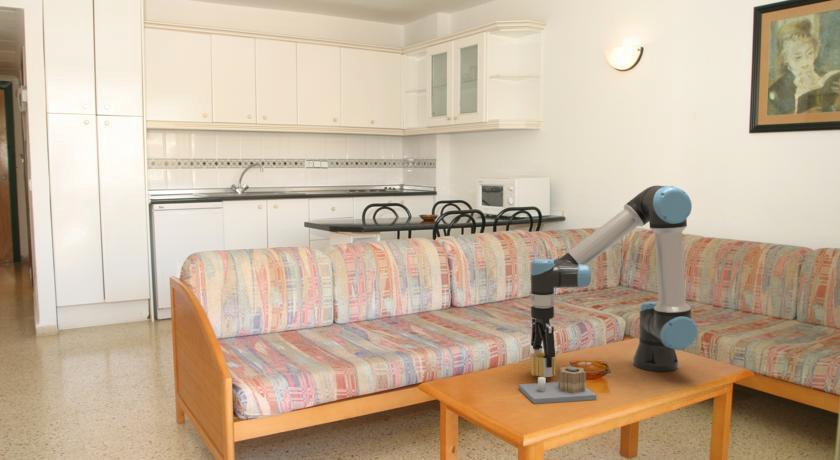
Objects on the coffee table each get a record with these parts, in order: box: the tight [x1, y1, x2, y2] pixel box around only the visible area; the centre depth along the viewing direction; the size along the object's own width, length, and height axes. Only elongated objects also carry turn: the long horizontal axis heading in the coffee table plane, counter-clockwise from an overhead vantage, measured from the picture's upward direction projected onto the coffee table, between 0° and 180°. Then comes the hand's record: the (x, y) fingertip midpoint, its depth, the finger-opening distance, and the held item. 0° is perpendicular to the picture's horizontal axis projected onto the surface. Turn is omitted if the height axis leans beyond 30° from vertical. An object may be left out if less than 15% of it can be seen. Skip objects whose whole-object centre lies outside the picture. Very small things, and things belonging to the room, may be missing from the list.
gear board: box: [518, 366, 597, 405], centre depth 213 cm, size 20×14×8 cm
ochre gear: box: [530, 351, 556, 377], centre depth 229 cm, size 8×8×6 cm
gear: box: [557, 365, 587, 393], centre depth 214 cm, size 8×8×6 cm
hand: (542, 372), depth 229 cm, fingers closed on ochre gear, 8 cm apart
